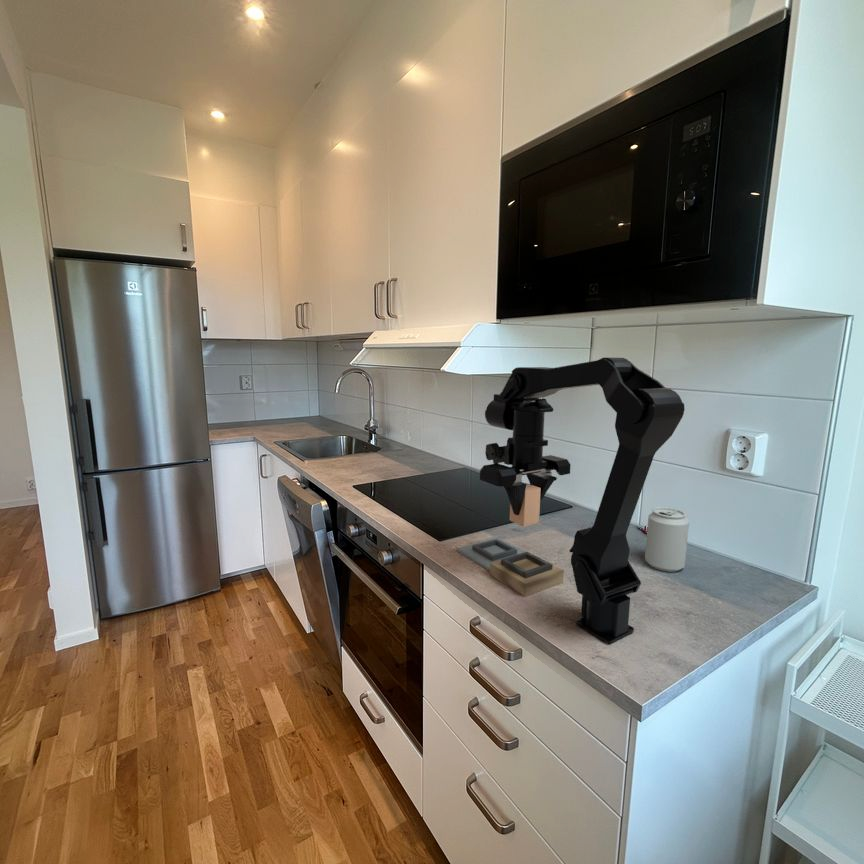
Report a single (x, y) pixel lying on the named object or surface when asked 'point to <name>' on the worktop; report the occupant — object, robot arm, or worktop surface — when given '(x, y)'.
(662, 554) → the can
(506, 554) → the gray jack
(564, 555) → the worktop surface
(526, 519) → the plug
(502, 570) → the beige square socket
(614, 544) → the robot arm
